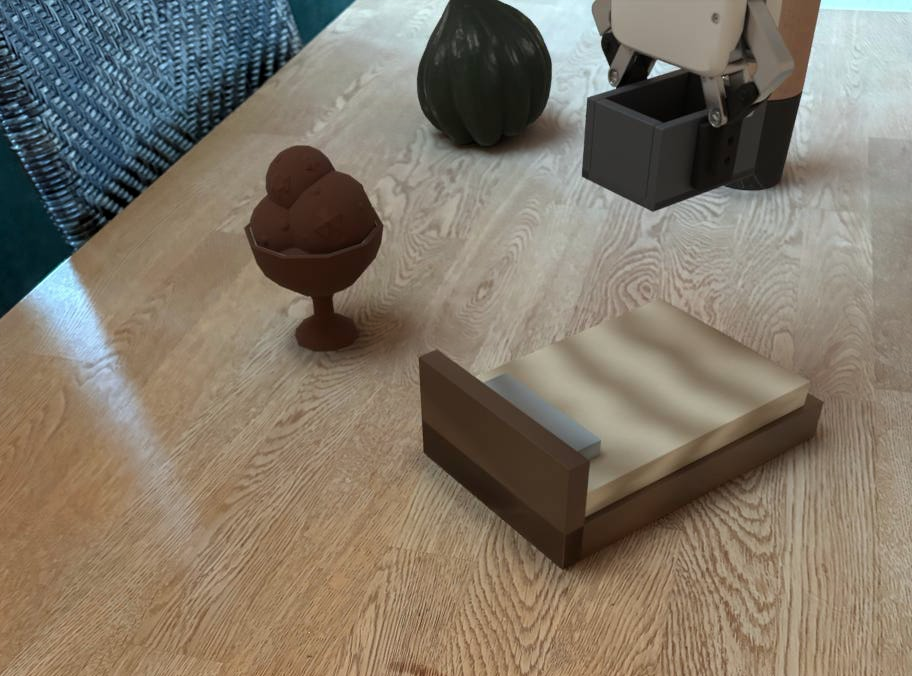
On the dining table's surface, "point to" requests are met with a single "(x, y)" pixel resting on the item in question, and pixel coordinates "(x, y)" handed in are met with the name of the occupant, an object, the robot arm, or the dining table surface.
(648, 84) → the basket
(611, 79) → the robot arm
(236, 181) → the dining table surface
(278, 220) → the ice cream bowl
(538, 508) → the bed
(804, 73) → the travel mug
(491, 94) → the squash
